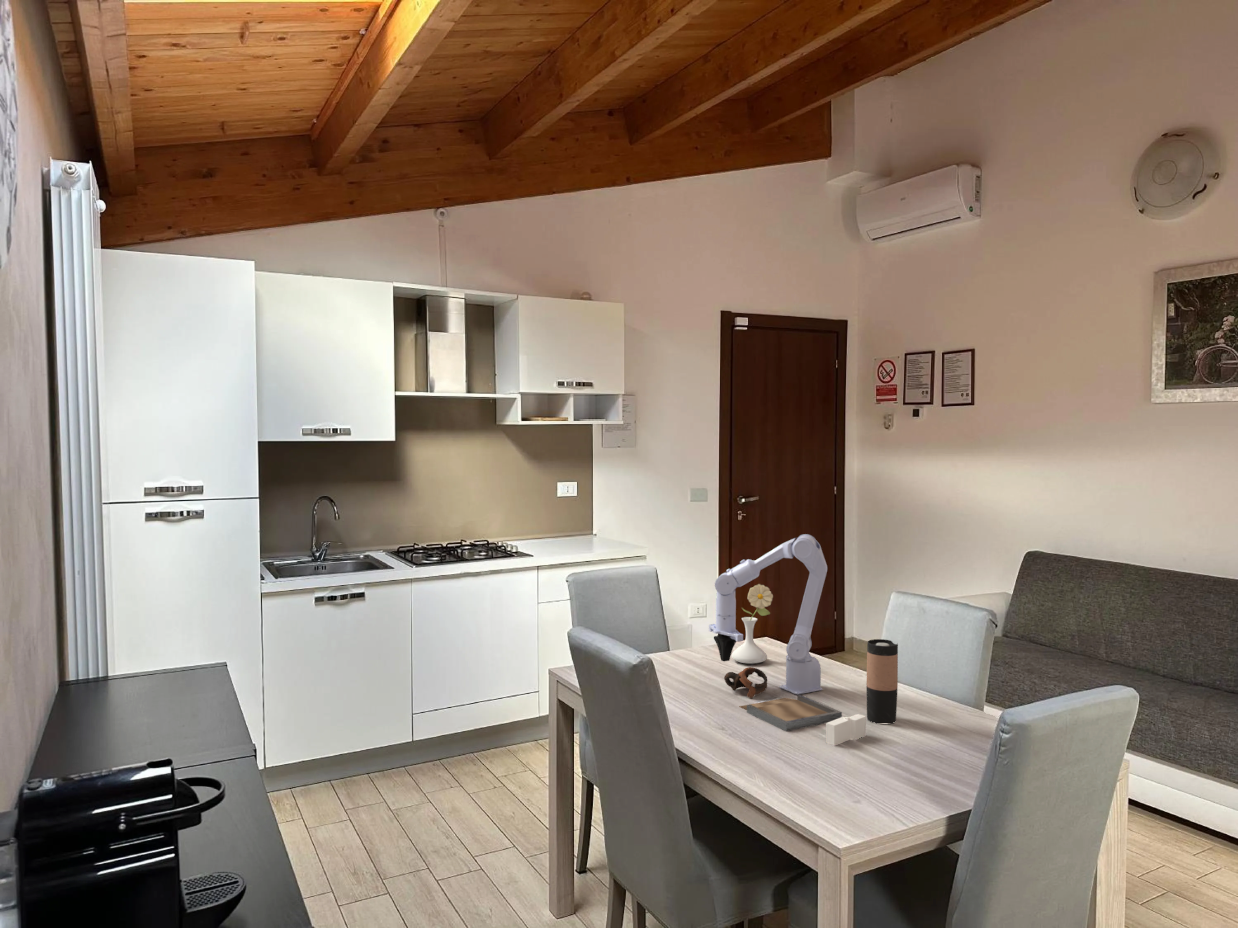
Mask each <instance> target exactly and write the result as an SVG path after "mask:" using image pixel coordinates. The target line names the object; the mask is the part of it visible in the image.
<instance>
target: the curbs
mask: <svg viewBox="0 0 1238 928" xmlns="http://www.w3.org/2000/svg"><path fill="white" fill-rule="evenodd" d="M796 695H797V694H796ZM796 700H799V701H802V702H804V703H806V704H809V705H811V706H813V707H816V708H818V709H820V710H823V711H825V712H827V713H825V714H820V715H815V716H810V717H805V718H800V719H795V720H790V721H785V720H783V719H780V718H778V717H776V716H774V715H772V714H770V713H768V712H765V711H763V710H761V709H759V708H757V707H755V706H752V705H750V704H751V703H749V704H746V705H747V710H746V713H747V714H749V715H751V716H753V717H756V718H758V719H760V720H762V721H764V722H766V723H768V724H770V725H773V726H774V727H776V728H778V729H781V730H783V731H785V732H791V731H795V730H799V729H805V728H809V727H814V726H819V725H823V724H826V723H828V722H830V721H833V720H836V719H838V718H841V717H843V712H842V711H840V710H838V709H835V708H833V707H831V706H829V705H825V704H823V703H821V702H819V701H816V700H813V699H812V698H809V697H807V696H804V695H803V694H798V695H797V699H796Z"/></svg>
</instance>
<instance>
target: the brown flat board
mask: <svg viewBox="0 0 1238 928" xmlns="http://www.w3.org/2000/svg"><path fill="white" fill-rule="evenodd" d="M749 704H750V705H752V706H755V707H757V708H759V709H761V710H763V711H765V712H768V713H770V714H772V715H774V716H776V717H778V718H780V719H783V720H785V721H790V720H795V719H800V718H805V717H810V716H815V715H820V714H825V713H827V712H825V711H823V710H820V709H818V708H816V707H813V706H811V705H809V704H806V703H804V702H802V701H799V700H797V699H796V698H790V697H781V698H777V699H772V700H766V701H760V702H754V703H749ZM747 705H748V704H744V705H739V706H738V707H739V708H741V709H743V710H744V711H747Z"/></svg>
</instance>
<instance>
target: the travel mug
mask: <svg viewBox="0 0 1238 928" xmlns="http://www.w3.org/2000/svg"><path fill="white" fill-rule="evenodd" d="M866 644H867V648H866V649H867V651H866V653H867V654H866V682H865V684H866V686H865V688H866V720H867V721H869V722H871V721H872V722H871V723H873V722H875V723H874V724H877V723H893V722H895V721H896V720H897V707H898V706H897V705H898V689H899V687H898V683H899V682H898V681H899V680H898V678H899V677H898V676H899V675H898V674H899V673H898V672H899V671H898V670H899V668H898V661H899V660H898V658H899V656H898V653H899V644H898V642H897V643H895V642H893V641H892V640H890V639H884V638H883V639H880V638H879V639H878V638H876V639H870V640H867V643H866ZM895 723H896V722H895ZM893 724H894V723H893Z"/></svg>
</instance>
